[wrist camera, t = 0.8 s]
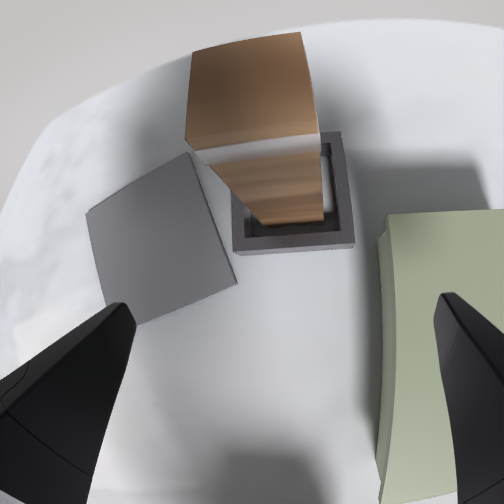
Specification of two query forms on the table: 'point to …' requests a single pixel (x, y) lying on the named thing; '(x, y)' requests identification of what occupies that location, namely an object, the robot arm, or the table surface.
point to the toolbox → (428, 338)
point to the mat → (158, 243)
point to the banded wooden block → (259, 126)
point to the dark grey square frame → (308, 241)
